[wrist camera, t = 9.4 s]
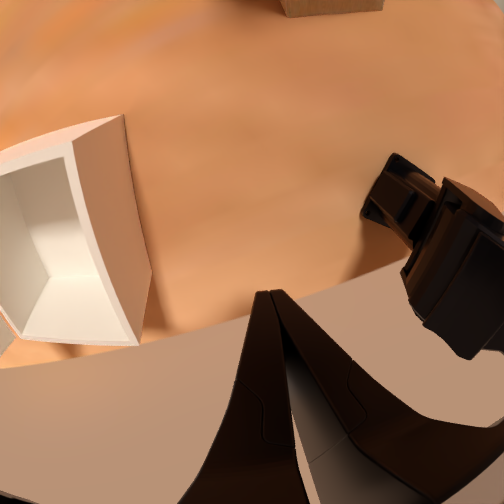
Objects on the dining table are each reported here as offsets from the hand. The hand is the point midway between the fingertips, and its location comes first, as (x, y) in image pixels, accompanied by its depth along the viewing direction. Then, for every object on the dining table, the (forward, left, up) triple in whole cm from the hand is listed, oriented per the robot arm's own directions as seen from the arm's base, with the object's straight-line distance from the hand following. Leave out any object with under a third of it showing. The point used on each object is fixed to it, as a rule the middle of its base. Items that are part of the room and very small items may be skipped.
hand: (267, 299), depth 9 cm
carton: (+12, +7, -13) cm, 19 cm away
